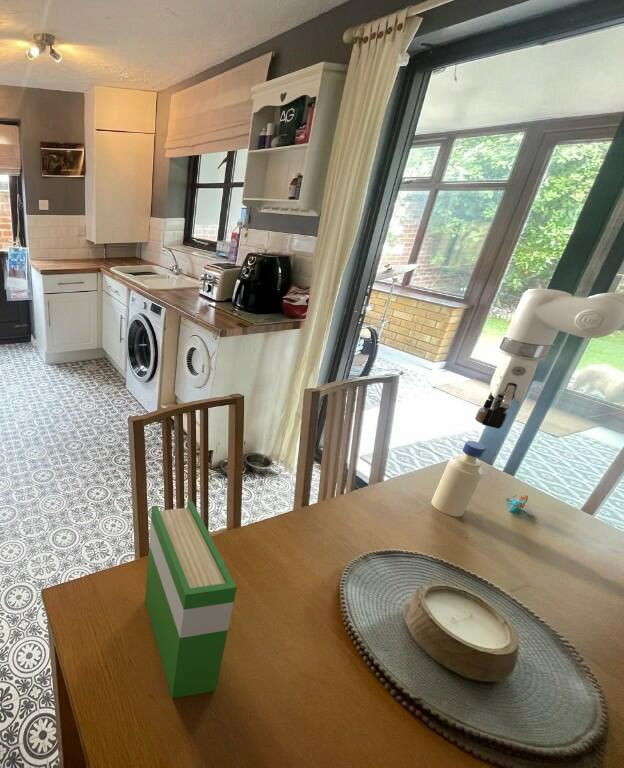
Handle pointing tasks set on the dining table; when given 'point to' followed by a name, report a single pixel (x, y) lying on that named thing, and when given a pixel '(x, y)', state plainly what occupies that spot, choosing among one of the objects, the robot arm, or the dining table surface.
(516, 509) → the dragon figurine
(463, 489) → the bottle
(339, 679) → the dining table surface
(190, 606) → the hardback book
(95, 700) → the dining table surface
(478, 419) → the chip
